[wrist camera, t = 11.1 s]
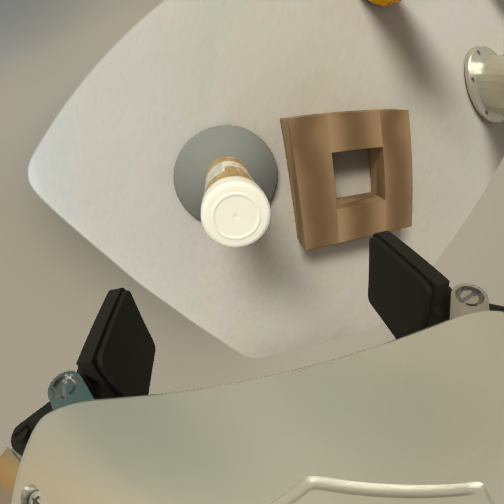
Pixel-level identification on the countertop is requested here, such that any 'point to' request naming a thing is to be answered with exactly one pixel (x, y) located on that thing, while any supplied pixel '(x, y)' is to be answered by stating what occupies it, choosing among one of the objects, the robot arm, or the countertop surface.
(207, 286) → the countertop surface
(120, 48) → the countertop surface
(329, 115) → the walnut pocket block
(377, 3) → the beer can
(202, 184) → the slate coaster
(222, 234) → the sprinkles bottle
